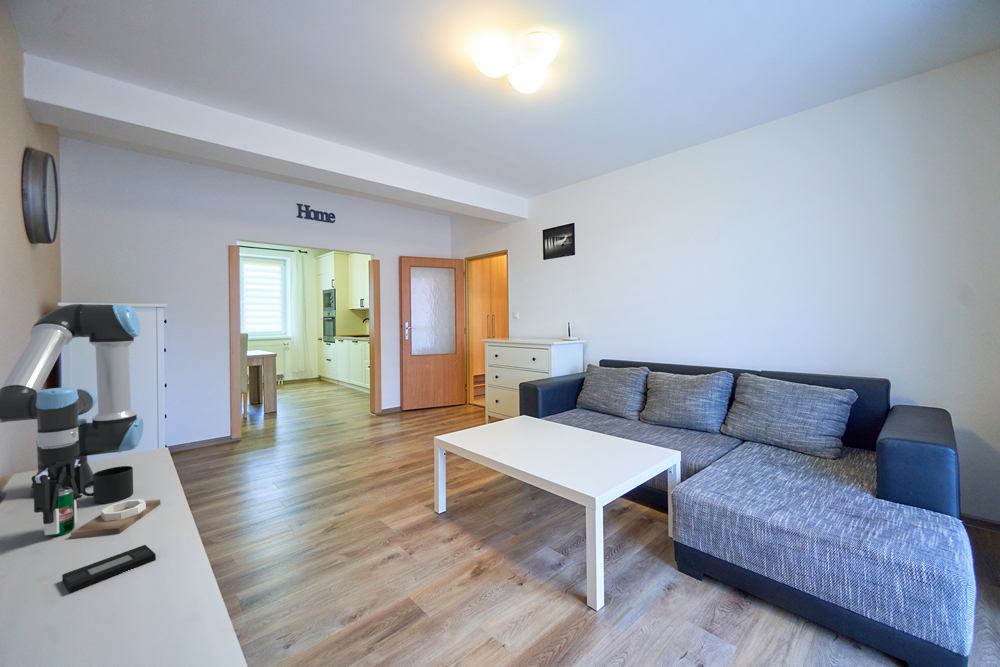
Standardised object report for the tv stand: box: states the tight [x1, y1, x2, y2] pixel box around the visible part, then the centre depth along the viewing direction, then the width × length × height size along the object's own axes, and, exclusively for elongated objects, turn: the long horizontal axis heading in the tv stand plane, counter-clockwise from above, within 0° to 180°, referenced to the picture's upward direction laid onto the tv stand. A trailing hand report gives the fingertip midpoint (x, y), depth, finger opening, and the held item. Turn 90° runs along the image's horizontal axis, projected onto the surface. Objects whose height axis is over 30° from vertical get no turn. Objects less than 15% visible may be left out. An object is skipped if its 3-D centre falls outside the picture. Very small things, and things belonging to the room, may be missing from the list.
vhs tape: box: [61, 544, 157, 595], centre depth 92 cm, size 8×14×2 cm, turn 147°
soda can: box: [48, 487, 76, 537], centre depth 108 cm, size 5×5×12 cm
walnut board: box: [70, 499, 161, 539], centre depth 116 cm, size 18×11×2 cm, turn 13°
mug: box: [81, 465, 134, 505], centre depth 129 cm, size 9×12×9 cm
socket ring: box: [100, 498, 146, 521], centre depth 117 cm, size 9×9×2 cm
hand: (61, 528), depth 108 cm, fingers closed on soda can, 5 cm apart
